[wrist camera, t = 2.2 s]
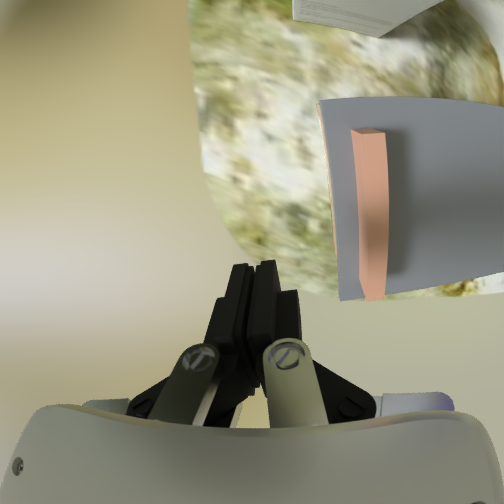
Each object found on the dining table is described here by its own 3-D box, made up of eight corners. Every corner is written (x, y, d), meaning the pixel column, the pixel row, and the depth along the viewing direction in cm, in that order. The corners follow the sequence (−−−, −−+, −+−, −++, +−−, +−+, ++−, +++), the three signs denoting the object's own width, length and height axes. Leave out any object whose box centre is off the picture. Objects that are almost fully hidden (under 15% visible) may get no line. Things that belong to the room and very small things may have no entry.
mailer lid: (522, 111, 10) (550, 119, 7) (506, 263, 17) (525, 285, 14) (318, 100, 14) (327, 99, 11) (338, 292, 20) (344, 324, 17)
